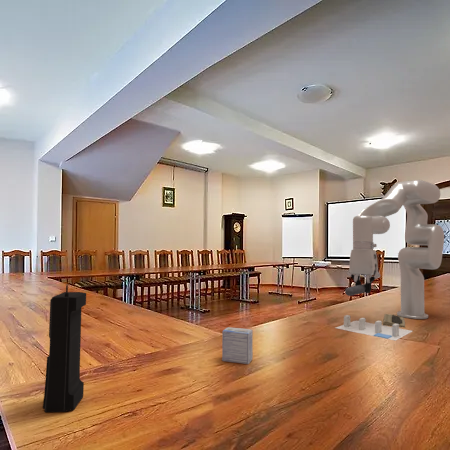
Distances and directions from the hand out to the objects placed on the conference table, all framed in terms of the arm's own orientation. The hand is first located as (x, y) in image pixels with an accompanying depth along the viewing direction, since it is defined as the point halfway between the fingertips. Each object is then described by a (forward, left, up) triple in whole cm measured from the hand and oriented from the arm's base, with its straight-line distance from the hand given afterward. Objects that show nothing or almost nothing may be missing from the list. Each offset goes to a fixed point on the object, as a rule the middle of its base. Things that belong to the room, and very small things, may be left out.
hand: (363, 291), depth 139 cm
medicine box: (+65, -8, -14) cm, 67 cm away
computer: (-14, +7, -15) cm, 21 cm away
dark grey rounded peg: (+6, 0, 0) cm, 6 cm away
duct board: (+5, +6, -14) cm, 16 cm away
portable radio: (+110, -15, -14) cm, 112 cm away
